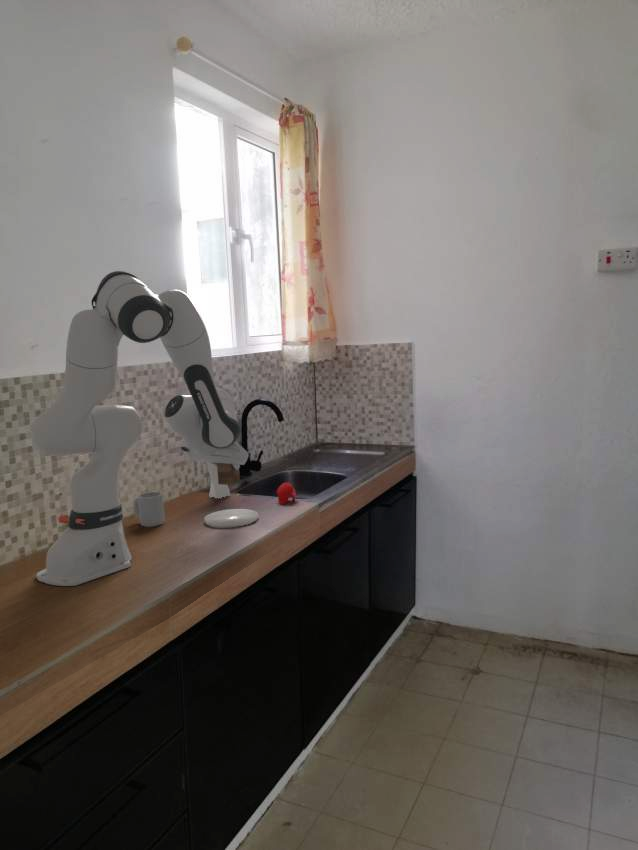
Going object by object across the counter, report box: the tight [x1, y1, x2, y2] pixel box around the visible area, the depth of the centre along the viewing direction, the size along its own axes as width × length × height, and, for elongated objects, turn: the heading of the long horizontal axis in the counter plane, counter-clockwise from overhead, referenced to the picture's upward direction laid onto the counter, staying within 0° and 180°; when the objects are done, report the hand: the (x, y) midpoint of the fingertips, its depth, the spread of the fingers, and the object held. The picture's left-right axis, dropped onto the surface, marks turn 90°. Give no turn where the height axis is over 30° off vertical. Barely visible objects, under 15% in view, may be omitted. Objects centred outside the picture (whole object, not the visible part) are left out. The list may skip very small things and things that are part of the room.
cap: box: [276, 482, 297, 505], centre depth 206 cm, size 8×6×6 cm
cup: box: [133, 491, 166, 528], centre depth 188 cm, size 7×10×9 cm
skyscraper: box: [206, 462, 232, 500], centre depth 216 cm, size 8×8×28 cm
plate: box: [204, 508, 259, 529], centre depth 188 cm, size 16×16×1 cm
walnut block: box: [217, 463, 241, 486], centre depth 186 cm, size 4×4×8 cm
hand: (229, 467), depth 186 cm, fingers closed on walnut block, 4 cm apart
